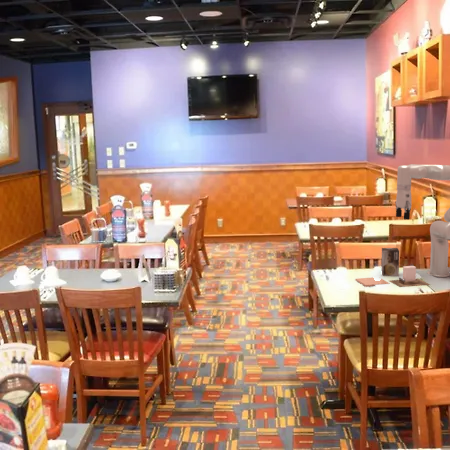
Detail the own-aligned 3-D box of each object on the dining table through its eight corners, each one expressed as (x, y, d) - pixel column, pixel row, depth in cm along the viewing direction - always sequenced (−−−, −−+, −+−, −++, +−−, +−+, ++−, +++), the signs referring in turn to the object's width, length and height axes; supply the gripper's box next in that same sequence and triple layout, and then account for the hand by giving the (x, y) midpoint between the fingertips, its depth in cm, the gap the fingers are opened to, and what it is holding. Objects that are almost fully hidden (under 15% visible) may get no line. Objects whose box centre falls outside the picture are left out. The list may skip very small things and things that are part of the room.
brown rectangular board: (417, 279, 342) (417, 274, 341) (430, 286, 328) (430, 280, 328) (388, 282, 338) (388, 276, 338) (399, 288, 325) (400, 282, 324)
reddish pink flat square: (378, 278, 346) (378, 277, 346) (389, 285, 332) (389, 283, 332) (355, 280, 343) (355, 278, 343) (365, 286, 330) (365, 285, 329)
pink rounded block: (412, 281, 335) (413, 265, 334) (415, 283, 332) (415, 267, 331) (402, 282, 334) (403, 266, 332) (405, 283, 331) (405, 267, 330)
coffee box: (396, 274, 354) (397, 247, 351) (398, 277, 348) (399, 250, 345) (380, 274, 355) (381, 247, 352) (382, 277, 349) (383, 249, 346)
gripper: (417, 189, 329) (416, 220, 332) (403, 186, 346) (401, 215, 349) (404, 189, 328) (403, 220, 331) (390, 186, 345) (389, 216, 347)
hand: (402, 218), depth 340 cm, fingers open, 9 cm apart
